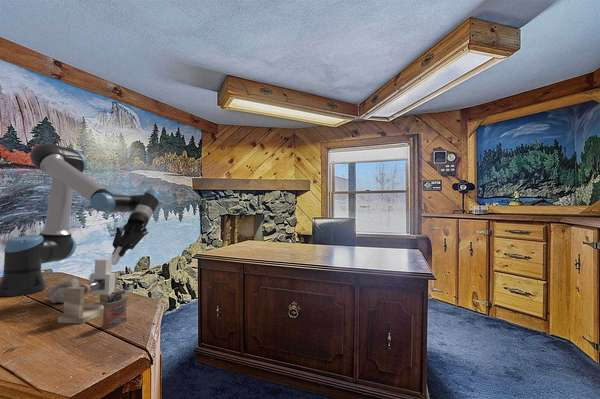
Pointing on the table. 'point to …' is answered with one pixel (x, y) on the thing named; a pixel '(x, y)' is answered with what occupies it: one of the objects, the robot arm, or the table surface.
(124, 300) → the lighter
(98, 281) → the pipe stand
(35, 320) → the table surface
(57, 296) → the fossil replica
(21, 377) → the table surface
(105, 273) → the white pipe saddle block
